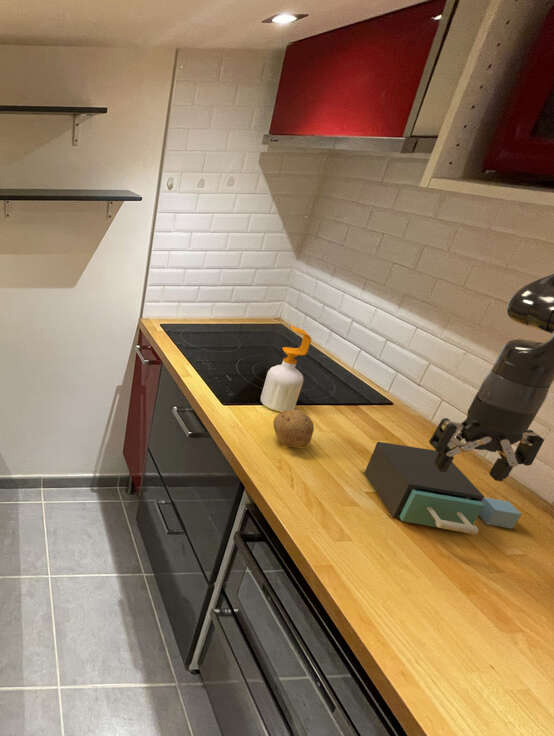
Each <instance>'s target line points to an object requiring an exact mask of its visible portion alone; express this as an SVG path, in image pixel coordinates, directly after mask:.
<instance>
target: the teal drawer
mask: <svg viewBox="0 0 554 736" xmlns="http://www.w3.org/2000/svg"><path fill="white" fill-rule="evenodd" d="M470 498H471V497H465V496H459V495H453V494H447V493H441V492H435V491H429V490H423V489H418V488H412V489H411V491H410V493H409V495H408V497H407V499H406V501H405V503H404V505H403V507H402V510H401V514H400V516H399V517H400V519H399V520H400V521H401V522H406V523H409V524H410V523H411V524H416V525H420V526H421V525H422V526H427V527H432V528H437V529H442V530H449V531H453V532H458V533H459V532H460V533H465V534H472V535H478V534H479V532H480V530H479V527H478V526H476V525H474V524H475V522H476V521H477V519H478V517H480V516H479V514H480V512H481V511H482V509H483V507H484V505H483V504H482V503H481V502H480V501H475V500H470Z"/></svg>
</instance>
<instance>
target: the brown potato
mask: <svg viewBox="0 0 554 736" xmlns="http://www.w3.org/2000/svg"><path fill="white" fill-rule="evenodd" d="M273 429H274V433H275V435H276V437H277V439H278V440H279V442H280V443H281V444H282V445H284V446H286V447H288V448H298V449H303V448H306V447H308V446H309V445H310V443H311V440H312V438H313V434H314V431H315V428H314V423H313V421H312V418H311V417H310V416H309V415H307V414H306V413H305V412H303V411H301V410H298V409H294V410H286V411H283V412H279V413H278V414H277V415H276V416H275V417H274V419H273Z"/></svg>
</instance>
